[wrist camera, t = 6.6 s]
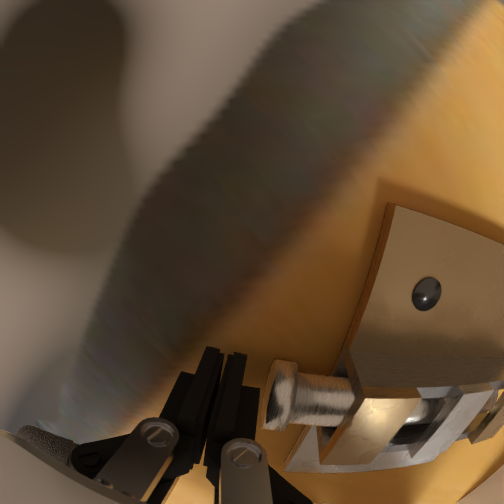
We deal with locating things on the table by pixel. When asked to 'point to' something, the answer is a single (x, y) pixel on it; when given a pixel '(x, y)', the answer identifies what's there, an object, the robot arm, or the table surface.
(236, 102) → the table surface
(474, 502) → the milk
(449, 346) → the hinge leaves
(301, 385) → the pin
